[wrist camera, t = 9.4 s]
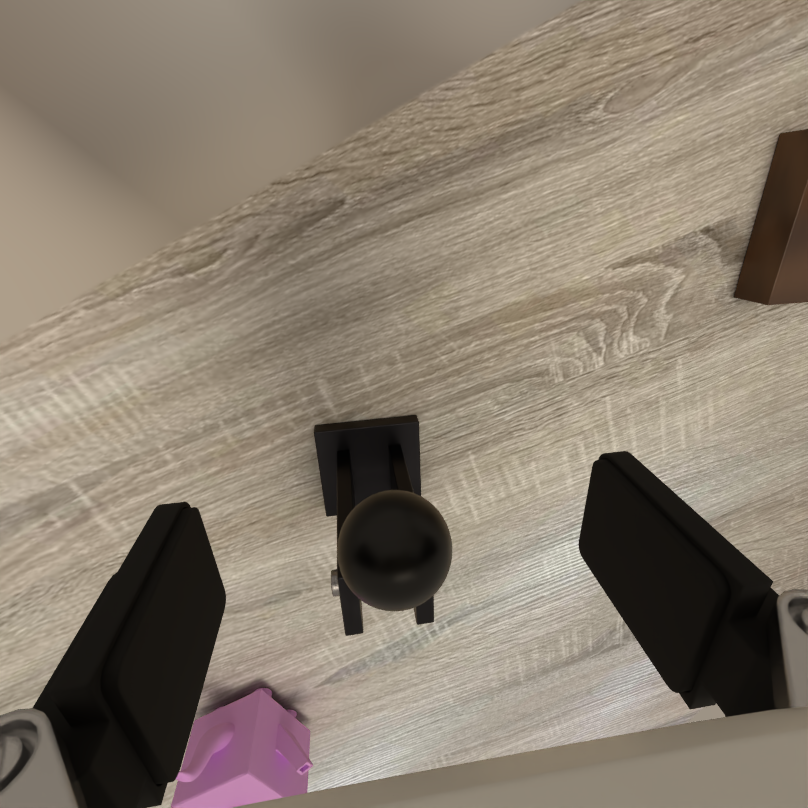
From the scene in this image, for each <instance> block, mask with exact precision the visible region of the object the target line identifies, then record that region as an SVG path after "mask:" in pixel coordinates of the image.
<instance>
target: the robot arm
mask: <svg viewBox="0 0 808 808" xmlns="http://www.w3.org/2000/svg"><path fill="white" fill-rule="evenodd" d="M579 550H580V553H581V556H582V558H583V559H584V561H585V562H586V564H587V565H588V567H589V568H590V570H591V572H592V573H593V575H594V576H595V578H596V579H597V581H598V582H599V584H600V585H601V587H602V588H603V590H604V591H605V593H606V594H607V596H608V597H609V599H610V600H611V602H612V603H613V605H614V606H615V608H616V609H617V611H618V612H619V614H620V615H621V617H622V618H623V620H624V621H625V623H626V624H627V626H628V627H629V629H630V630H631V632H632V633H633V635H634V636H635V638H636V639H637V641H638V642H639V644H640V645H641V647H642V648H643V650H644V651H645V653H646V654H647V656H648V657H649V659H650V660H651V662H652V663H653V665H654V666H655V668H656V669H657V671H658V672H659V674H660V675H661V677H662V678H663V680H664V681H665V683H666V684H667V686H668V687H669V688H670V689H671V690H672V691H673V692H676V693H678V692H679V694H680V695H681V697H682V698H683V700H684V701H685V703H686V704H687V706H688V707H689V709H695V708H700V707H705V706H711V705H715V704H716V703H717V704H718V706H719V707H720V709H721V710H722V711H723V713H724V714H725V717H723V718H717V719H711V720H705V721H698V722H691V723H686V724H680V725H675V726H669V727H663V728H658V729H652V730H647V731H641V732H635V733H630V734H624V735H618V736H613V737H607V738H602V739H596V740H590V741H585V742H579V743H573V744H568V745H562V746H557V747H551V748H546V749H540V750H535V751H530V752H524V753H519V754H513V755H508V756H502V757H497V758H491V759H486V760H480V761H475V762H470V763H464V764H459V765H453V766H448V767H443V768H437V769H432V770H426V771H421V772H416V773H410V774H405V775H399V776H394V777H389V778H383V779H378V780H373V781H368V782H362V783H357V784H352V785H347V786H341V787H336V788H331V789H325V790H320V791H315V792H310V793H304V794H299V795H294V796H289V797H283V798H278V799H273V800H268V801H262V802H257V803H252V804H247V805H242V806H237V807H232V808H808V590H802V589H792V590H788V591H784V592H783V593H782V594H781V595H780V596H779V595H778V594H777V593H776V592H775V591H774V590H773V589H772V588H770V587H771V585H772V583H773V581H772V580H771V579H770V578H769V577H768V576H766V575H765V574H764V573H763V572H762V571H761V570H760V569H759V568H758V567H756V566H755V565H754V564H753V563H752V562H751V561H750V560H749V559H748V558H746V557H745V556H744V555H743V554H742V553H741V552H740V551H739V550H738V549H736V548H735V547H734V546H733V545H732V544H731V543H730V542H729V541H727V540H726V539H725V538H724V537H723V536H722V535H721V534H720V533H719V532H717V531H716V530H715V529H714V528H713V527H712V526H711V525H710V524H709V523H707V522H706V521H705V520H704V519H703V518H702V517H701V516H700V515H699V514H697V513H696V512H695V511H694V510H693V509H692V508H691V507H690V506H688V505H687V504H686V503H685V502H684V501H683V500H682V499H681V498H680V497H678V496H677V495H676V494H675V493H674V492H673V491H672V490H671V489H670V488H668V487H667V486H666V485H665V484H664V483H663V482H662V481H661V480H660V479H658V478H657V477H656V476H655V475H654V474H653V473H652V472H651V471H649V470H648V469H647V468H646V467H645V466H644V465H643V464H642V463H641V462H639V461H638V460H637V459H636V458H635V457H634V456H633V455H632V454H630V453H629V452H626V451H622V452H613V453H605V454H602V455H601V456H600V457H599V459H598V460H597V461H595V462H594V463H593V466H592V472H591V477H590V483H589V488H588V494H587V499H586V505H585V511H584V516H583V522H582V527H581V533H580V538H579ZM225 604H226V594H225V589H224V586H223V583H222V580H221V577H220V574H219V571H218V568H217V564H216V561H215V558H214V555H213V552H212V549H211V546H210V543H209V540H208V537H207V534H206V531H205V528H204V524H203V521H202V518H201V515H200V512H199V510H198V509H197V508H196V507H193V508H191V507H190V505H189V504H188V503H187V502H180V503H171V504H162V505H158V506H157V507H156V508H155V509H154V511H153V513H152V514H151V516H150V518H149V520H148V521H147V523H146V525H145V526H144V528H143V530H142V531H141V533H140V535H139V537H138V538H137V540H136V542H135V543H134V545H133V547H132V548H131V550H130V552H129V554H128V555H127V557H126V559H125V560H124V562H123V564H122V565H121V567H120V569H119V571H118V572H117V573H116V574H114V575H113V576H112V577H111V579H110V580H109V581H108V583H107V584H106V586H105V588H104V589H103V591H102V593H101V594H100V596H99V598H98V599H97V601H96V603H95V604H94V606H93V608H92V610H91V611H90V613H89V615H88V616H87V618H86V620H85V621H84V623H83V625H82V626H81V628H80V630H79V631H78V633H77V635H76V636H75V638H74V640H73V641H72V643H71V645H70V646H69V648H68V650H67V651H66V653H65V655H64V656H63V658H62V660H61V661H60V663H59V665H58V666H57V668H56V670H55V671H54V673H53V675H52V676H51V678H50V680H49V681H48V683H47V685H46V686H45V688H44V690H43V692H42V693H41V695H40V697H39V698H38V700H37V702H36V703H35V705H34V707H33V708H31V709H18V710H15V711H12V712H9V713H6V714H3V715H1V716H0V808H147V807H153V806H158V805H161V803H162V800H163V797H164V793H165V790H166V786H167V783H168V782H173V781H174V780H175V779H176V777H177V775H178V773H179V770H180V767H181V764H182V760H183V757H184V753H185V749H186V746H187V742H188V739H189V735H190V731H191V728H192V724H193V721H194V717H195V713H196V710H197V706H198V703H199V699H200V695H201V692H202V688H203V685H204V681H205V677H206V674H207V670H208V667H209V663H210V660H211V656H212V652H213V649H214V645H215V642H216V638H217V634H218V631H219V627H220V624H221V620H222V616H223V613H224V609H225Z"/></svg>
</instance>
